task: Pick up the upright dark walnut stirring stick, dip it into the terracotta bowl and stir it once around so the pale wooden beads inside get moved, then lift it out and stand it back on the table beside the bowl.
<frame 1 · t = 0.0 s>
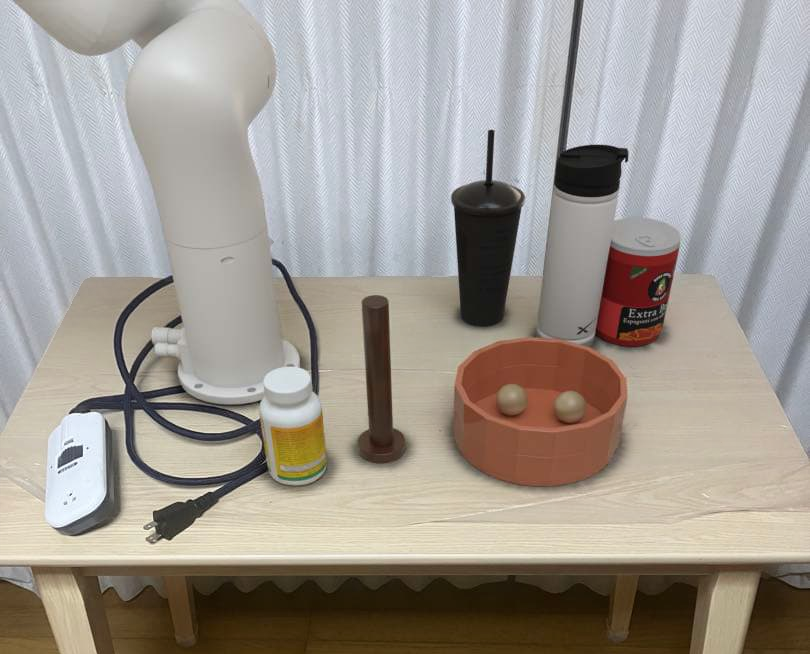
drinking cup: (482, 317, 98), on the table
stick: (381, 448, 80), on the table
bead a: (570, 406, 81), point 2 cm above the table, touching bowl
travel mug: (565, 341, 94), on the table
bowl: (535, 435, 81), on the table
canned food: (625, 330, 96), on the table
bead b: (511, 399, 82), point 2 cm above the table, touching bowl
supplement bottle: (298, 470, 78), on the table
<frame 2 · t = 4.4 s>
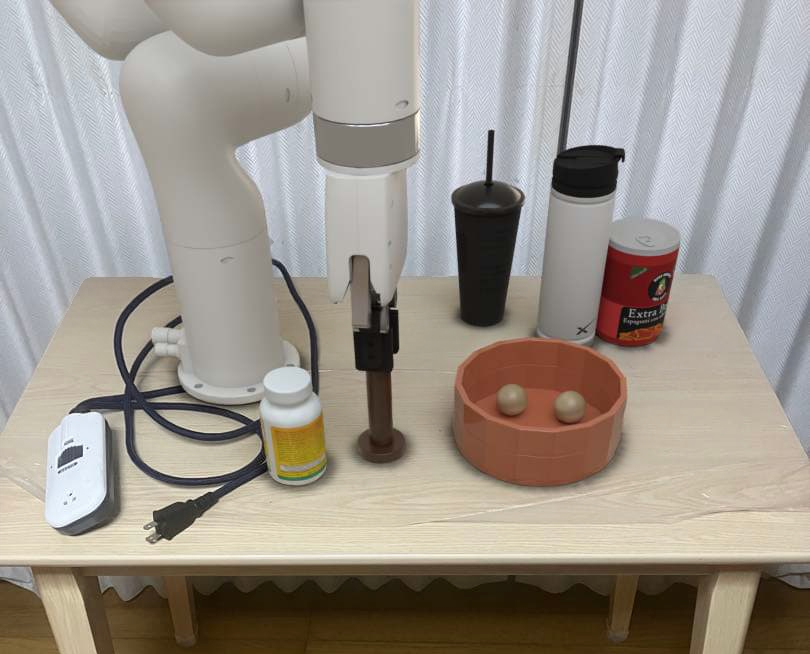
hand: (377, 359, 74), 10 cm above the table, tool pointing down, fingers closed on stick, 2 cm apart
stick: (381, 448, 80), on the table, touching gripper
everything else where it was.
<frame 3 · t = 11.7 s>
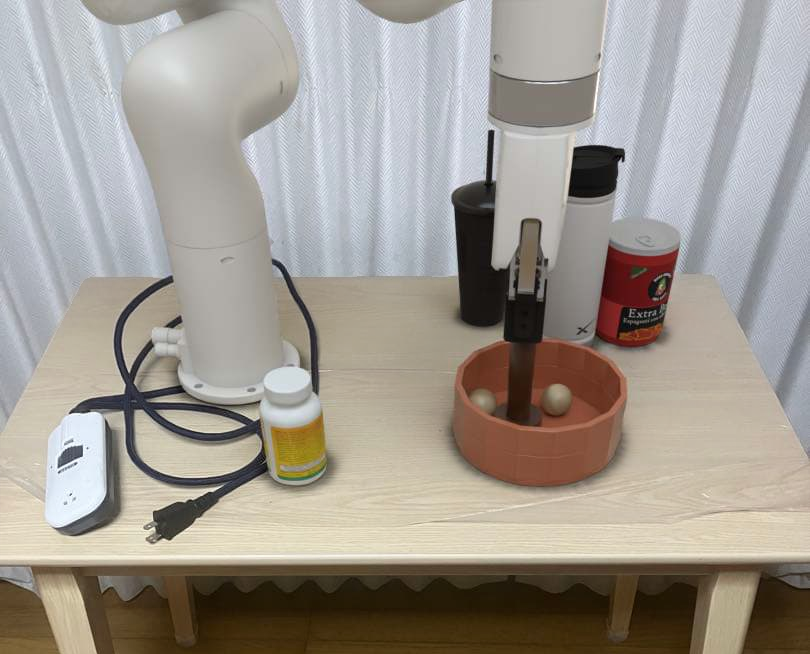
hand: (523, 330, 73), 12 cm above the table, tool pointing down, fingers closed on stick, 2 cm apart
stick: (517, 423, 79), point 2 cm above the table, touching gripper
bead a: (556, 399, 82), point 2 cm above the table, tilted 61°, touching bowl
bead b: (481, 404, 82), point 2 cm above the table, tilted 73°, touching bowl
everything else where it was.
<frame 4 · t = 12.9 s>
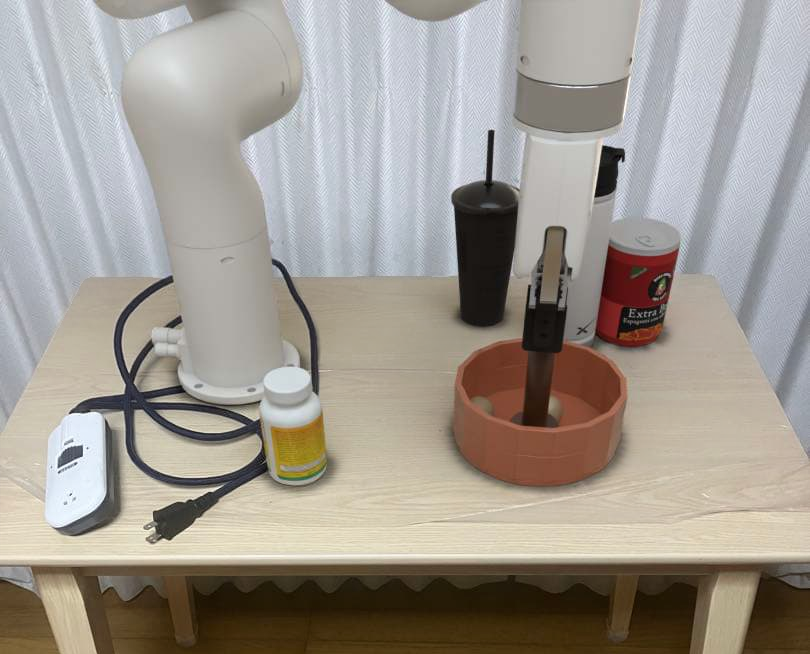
hand: (542, 339, 71), 12 cm above the table, tool pointing down, fingers closed on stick
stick: (533, 433, 77), point 3 cm above the table, touching gripper
bead a: (547, 410, 81), point 2 cm above the table, tilted 91°, touching bowl
bead b: (478, 412, 81), point 2 cm above the table, tilted 23°, touching bowl
everything else where it was.
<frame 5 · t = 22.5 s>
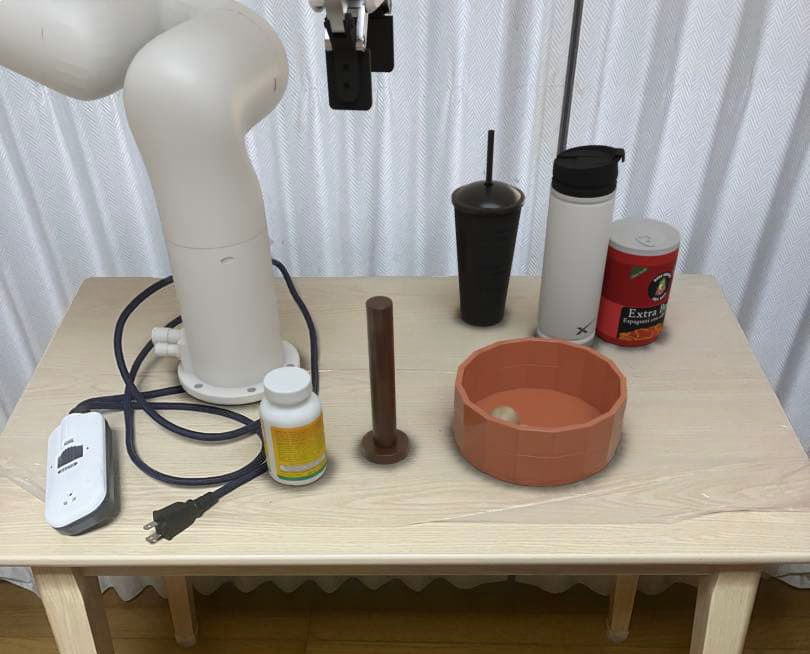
hand: (363, 89, 68), 28 cm above the table, tool pointing down, fingers open, 9 cm apart
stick: (385, 449, 80), on the table
bead a: (521, 441, 77), point 2 cm above the table, tilted 75°, touching bowl
bead b: (502, 422, 80), point 2 cm above the table, tilted 83°, touching bowl
everything else where it was.
at the end: bead a moved 7.3 cm from its start; bead a 4.1 cm from the bowl (horizontally); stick inside the target area (0.4 cm from its centre), on the table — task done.
